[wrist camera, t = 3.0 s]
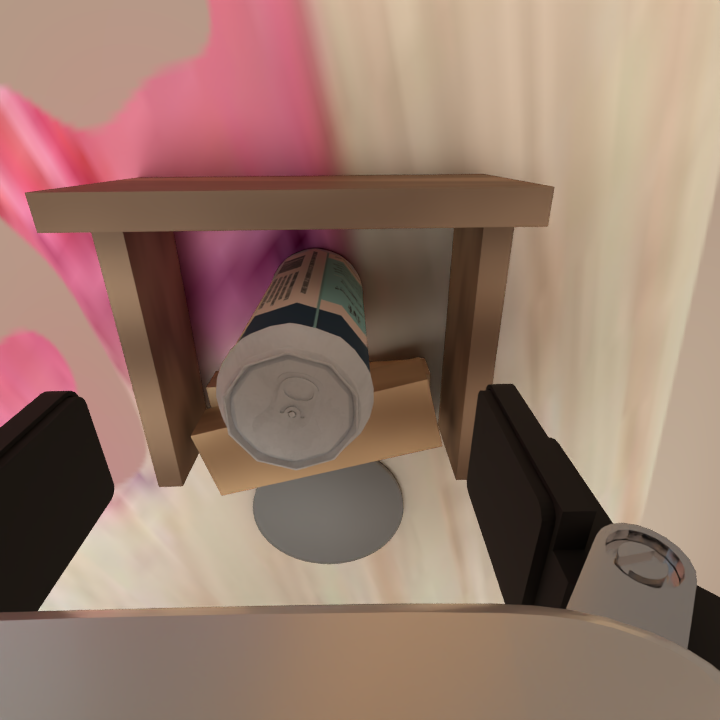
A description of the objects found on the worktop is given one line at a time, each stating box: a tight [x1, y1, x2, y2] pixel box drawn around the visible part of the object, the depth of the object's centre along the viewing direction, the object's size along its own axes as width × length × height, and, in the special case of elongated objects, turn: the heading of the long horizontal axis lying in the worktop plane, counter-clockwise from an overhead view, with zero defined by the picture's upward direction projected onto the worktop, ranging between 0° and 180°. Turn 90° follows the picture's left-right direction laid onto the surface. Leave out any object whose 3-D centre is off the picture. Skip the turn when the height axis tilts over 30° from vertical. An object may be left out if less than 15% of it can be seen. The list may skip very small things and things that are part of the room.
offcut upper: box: [191, 357, 442, 495], centre depth 23 cm, size 4×12×2 cm, turn 105°
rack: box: [25, 174, 554, 487], centre depth 20 cm, size 14×16×8 cm
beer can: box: [216, 249, 374, 470], centre depth 18 cm, size 5×5×12 cm
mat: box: [253, 461, 403, 564], centre depth 30 cm, size 10×10×1 cm
